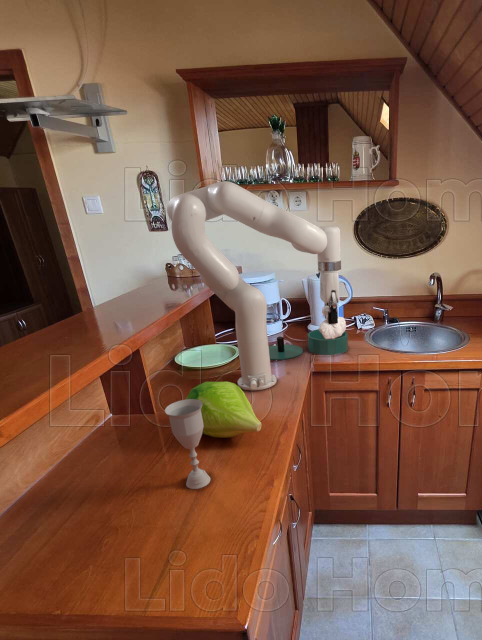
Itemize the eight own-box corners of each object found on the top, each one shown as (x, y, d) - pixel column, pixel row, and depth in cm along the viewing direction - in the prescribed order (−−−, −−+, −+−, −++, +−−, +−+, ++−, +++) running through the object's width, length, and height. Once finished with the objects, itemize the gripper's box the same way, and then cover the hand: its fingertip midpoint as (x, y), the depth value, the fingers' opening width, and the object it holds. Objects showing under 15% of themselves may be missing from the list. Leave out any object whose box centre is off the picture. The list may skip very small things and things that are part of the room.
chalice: (203, 467, 95) (190, 396, 87) (222, 479, 91) (209, 404, 83) (174, 483, 90) (157, 409, 82) (192, 496, 86) (176, 419, 78)
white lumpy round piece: (342, 335, 150) (328, 307, 150) (355, 328, 144) (341, 298, 144) (319, 346, 143) (304, 316, 142) (331, 338, 137) (316, 307, 137)
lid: (306, 359, 157) (305, 342, 154) (261, 363, 154) (259, 346, 151) (299, 345, 172) (298, 329, 169) (258, 349, 169) (256, 333, 166)
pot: (352, 353, 161) (351, 337, 158) (311, 357, 158) (311, 341, 155) (342, 341, 175) (342, 326, 172) (305, 345, 172) (304, 330, 169)
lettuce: (278, 435, 111) (238, 470, 101) (216, 401, 120) (174, 430, 109) (279, 392, 103) (235, 426, 92) (212, 358, 111) (165, 386, 100)
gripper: (313, 263, 143) (316, 315, 150) (323, 271, 128) (325, 329, 135) (335, 262, 144) (336, 314, 152) (347, 269, 129) (348, 327, 136)
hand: (331, 320), depth 143 cm, fingers closed on white lumpy round piece, 5 cm apart
